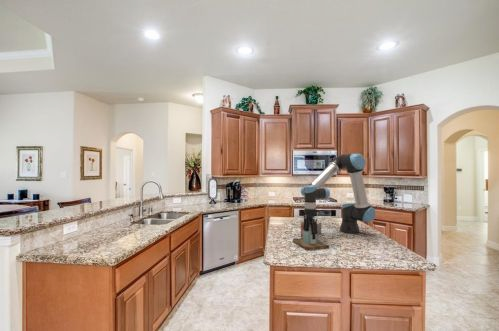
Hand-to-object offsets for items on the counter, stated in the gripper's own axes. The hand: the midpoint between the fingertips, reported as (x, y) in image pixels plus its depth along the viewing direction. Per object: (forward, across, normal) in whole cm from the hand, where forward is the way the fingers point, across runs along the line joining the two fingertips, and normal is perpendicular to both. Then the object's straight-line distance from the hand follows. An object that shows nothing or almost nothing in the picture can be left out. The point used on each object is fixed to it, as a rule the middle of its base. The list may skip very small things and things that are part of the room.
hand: (309, 242), depth 173 cm
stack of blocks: (+2, -21, +13) cm, 25 cm away
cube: (0, 0, 0) cm, 0 cm away
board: (+2, 0, 0) cm, 2 cm away
